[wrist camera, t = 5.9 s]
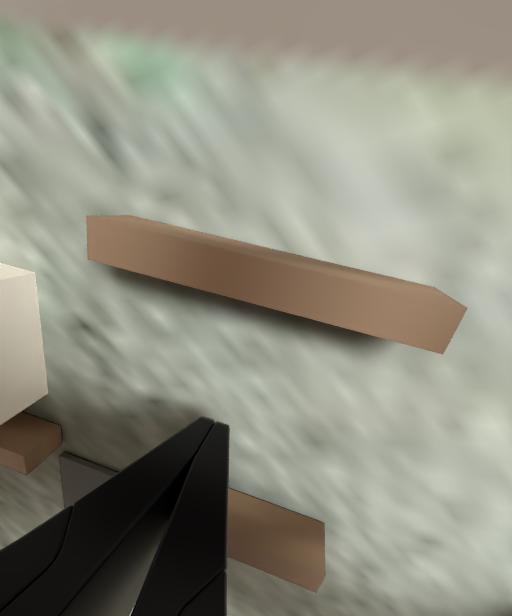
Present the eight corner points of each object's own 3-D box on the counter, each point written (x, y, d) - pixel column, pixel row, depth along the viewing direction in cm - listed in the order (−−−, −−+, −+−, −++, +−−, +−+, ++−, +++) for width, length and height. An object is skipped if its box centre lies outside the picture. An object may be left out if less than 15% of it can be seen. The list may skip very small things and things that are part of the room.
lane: (434, 287, 6) (501, 330, 4) (316, 539, 10) (316, 638, 8) (-145, 150, 9) (-313, 127, 6) (-68, 394, 12) (-157, 435, 10)
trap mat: (214, 509, 11) (212, 514, 10) (199, 577, 12) (197, 583, 12) (63, 451, 12) (58, 455, 11) (70, 523, 13) (66, 527, 13)
